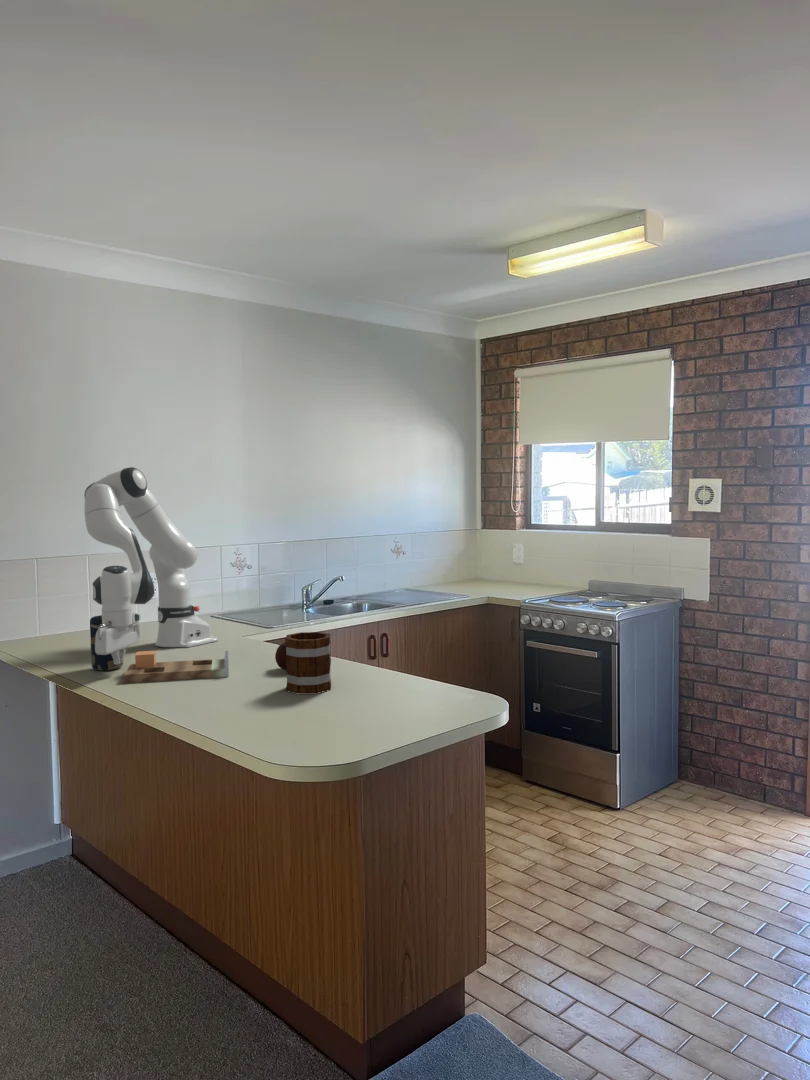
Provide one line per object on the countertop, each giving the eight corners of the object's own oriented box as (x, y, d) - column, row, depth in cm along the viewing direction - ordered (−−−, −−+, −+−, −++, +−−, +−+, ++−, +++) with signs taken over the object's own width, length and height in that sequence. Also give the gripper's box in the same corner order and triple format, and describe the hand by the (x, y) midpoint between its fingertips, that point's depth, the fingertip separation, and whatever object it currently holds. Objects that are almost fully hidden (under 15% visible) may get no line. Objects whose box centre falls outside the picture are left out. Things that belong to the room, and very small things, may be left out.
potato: (293, 665, 255) (292, 636, 254) (312, 671, 245) (311, 642, 245) (269, 668, 250) (268, 640, 249) (287, 675, 240) (287, 645, 239)
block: (135, 668, 242) (135, 655, 241) (137, 664, 247) (137, 651, 247) (154, 666, 243) (153, 654, 243) (156, 663, 248) (155, 650, 248)
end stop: (225, 677, 239) (224, 660, 239) (225, 666, 254) (225, 650, 254) (228, 676, 239) (228, 660, 239) (228, 666, 254) (228, 650, 254)
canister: (129, 667, 255) (127, 611, 254) (107, 673, 246) (105, 616, 245) (107, 664, 259) (105, 610, 258) (84, 670, 250) (82, 614, 249)
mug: (319, 696, 216) (318, 641, 215) (276, 692, 221) (275, 639, 220) (349, 679, 234) (348, 629, 233) (308, 676, 239) (307, 627, 238)
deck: (124, 683, 233) (124, 674, 233) (130, 671, 248) (130, 663, 248) (225, 677, 239) (224, 668, 239) (225, 666, 254) (225, 658, 254)
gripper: (108, 625, 232) (109, 671, 232) (143, 614, 252) (144, 656, 253) (88, 624, 233) (90, 670, 234) (125, 613, 253) (126, 656, 254)
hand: (118, 663), depth 243 cm, fingers closed
